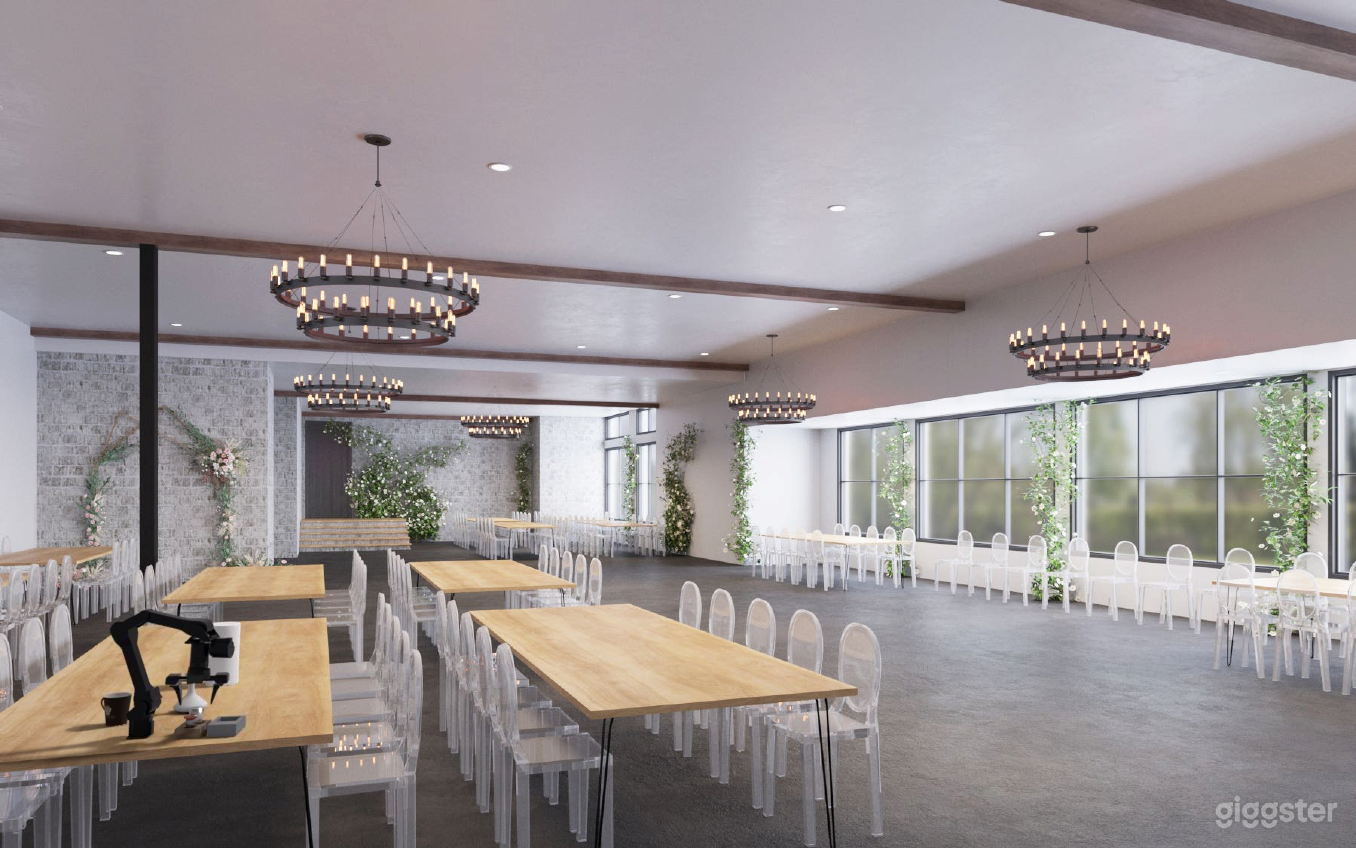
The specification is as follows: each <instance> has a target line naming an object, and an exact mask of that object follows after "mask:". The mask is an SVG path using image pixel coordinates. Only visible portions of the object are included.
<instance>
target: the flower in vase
mask: <svg viewBox="0 0 1356 848" xmlns="http://www.w3.org/2000/svg"><path fill="white" fill-rule="evenodd" d="M209 658H210V656H209ZM188 669H189V666H188V668H187V670H188ZM184 676H187V672H185V673H184ZM195 686H196V684H187V692H186V693H185V695H184V696H182V705H179V701H177V702H176V703H175V704H174V705H173V707H172V709H173V711H175V712H179V713H189V712H190V708H191V707H197V706H201V707H203V710H204V709H205V708H207V707H208V703H207V701H206V700H205V699H204V698H202V697H201V696H199V695H198V694H197V693H196V690H195Z"/></svg>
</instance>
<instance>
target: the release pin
mask: <svg viewBox="0 0 1356 848" xmlns="http://www.w3.org/2000/svg"><path fill="white" fill-rule="evenodd" d="M196 717H197V714H185V715H183V719H185V721H186V726H185V728H195V718H196Z"/></svg>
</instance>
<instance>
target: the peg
mask: <svg viewBox="0 0 1356 848" xmlns="http://www.w3.org/2000/svg"><path fill="white" fill-rule="evenodd" d="M188 713H189V714H197V717H196V718H195V725H197V724H202V720H203V715H204V714H203V713H204V709H203V707H201V706H197V707H191V708H190V712H188ZM189 714H188V715H189Z"/></svg>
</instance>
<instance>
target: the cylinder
mask: <svg viewBox="0 0 1356 848" xmlns="http://www.w3.org/2000/svg"><path fill="white" fill-rule="evenodd" d="M212 623H213V625H214V629H215V630H216V632H217V633H218V635H219V636H220V638H228V637H232V638H233V640H232V641H233V642H234V646H235V650H234V654H233V656H232V657H231V658H212V656H210V654H209V656H210V658H209V664H208V668H210V670H211V674H210V675H216V673H217V672H228V673H229V674H230V677H229V681H228V683H225V684H224V685H223V686H220V687H227V686H226V685H230V686H234V685H236V683H237V684H238V683H239V676H240V675H239V673H240V653H241V651H240V650H241V648H240V647H241V629H242V627H241V626H242V625H241V624H242V623H241V622H239V621H221V622H212ZM208 636H209V635H208ZM214 683H215V681H205V686H206V687H210V688H211V687H212V688H213V685H214ZM220 687H219V688H220Z"/></svg>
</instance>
